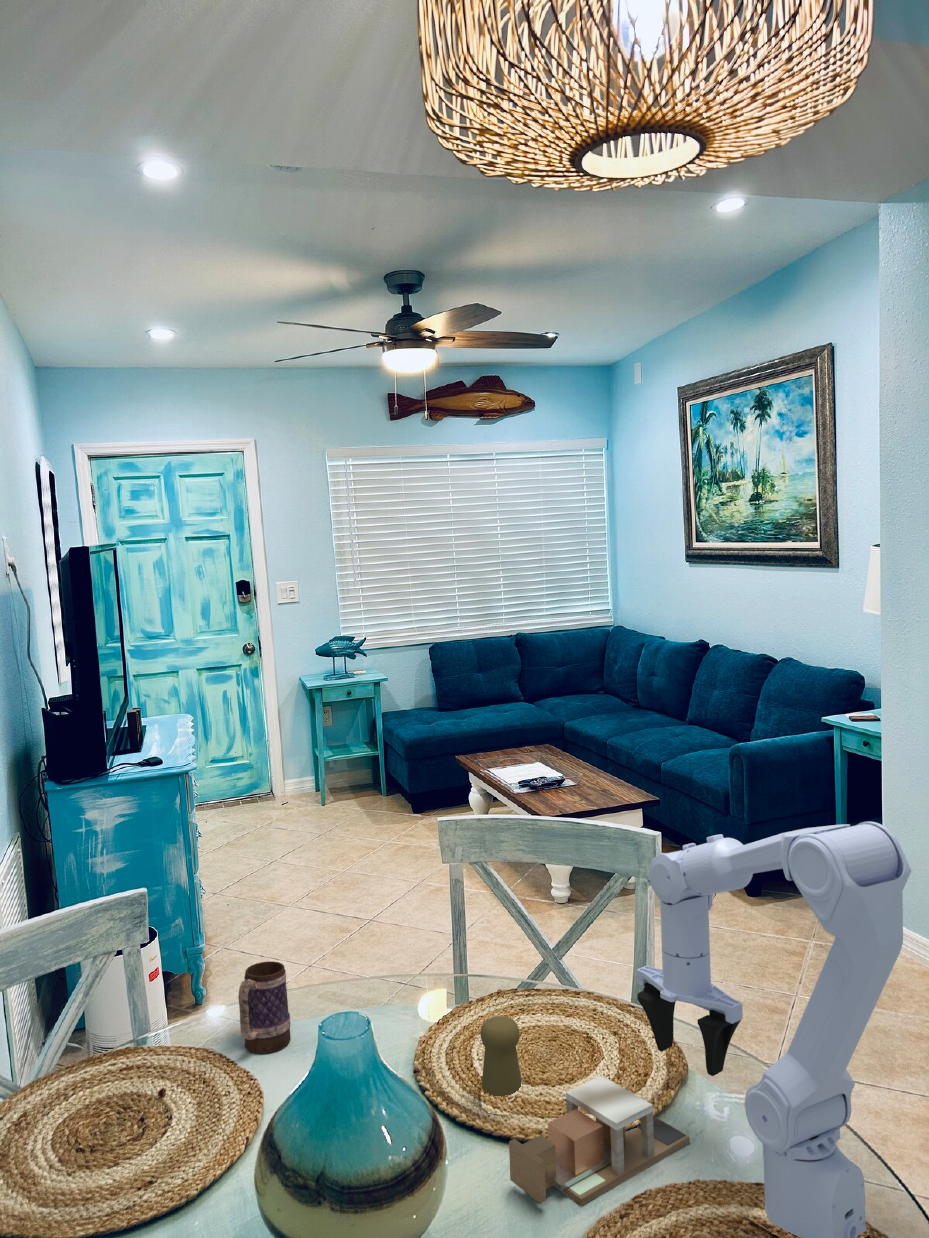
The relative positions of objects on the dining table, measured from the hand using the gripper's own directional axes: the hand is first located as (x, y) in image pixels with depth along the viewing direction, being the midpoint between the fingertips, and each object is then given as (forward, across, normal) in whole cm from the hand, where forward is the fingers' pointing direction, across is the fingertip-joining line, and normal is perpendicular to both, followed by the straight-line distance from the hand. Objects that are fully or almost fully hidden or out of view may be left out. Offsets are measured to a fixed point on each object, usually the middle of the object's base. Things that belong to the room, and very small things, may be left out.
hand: (689, 1059), depth 108 cm
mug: (+10, -57, -31) cm, 65 cm away
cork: (+10, -22, -12) cm, 27 cm away
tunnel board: (+10, -4, -10) cm, 15 cm away
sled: (+9, -5, -16) cm, 18 cm away
